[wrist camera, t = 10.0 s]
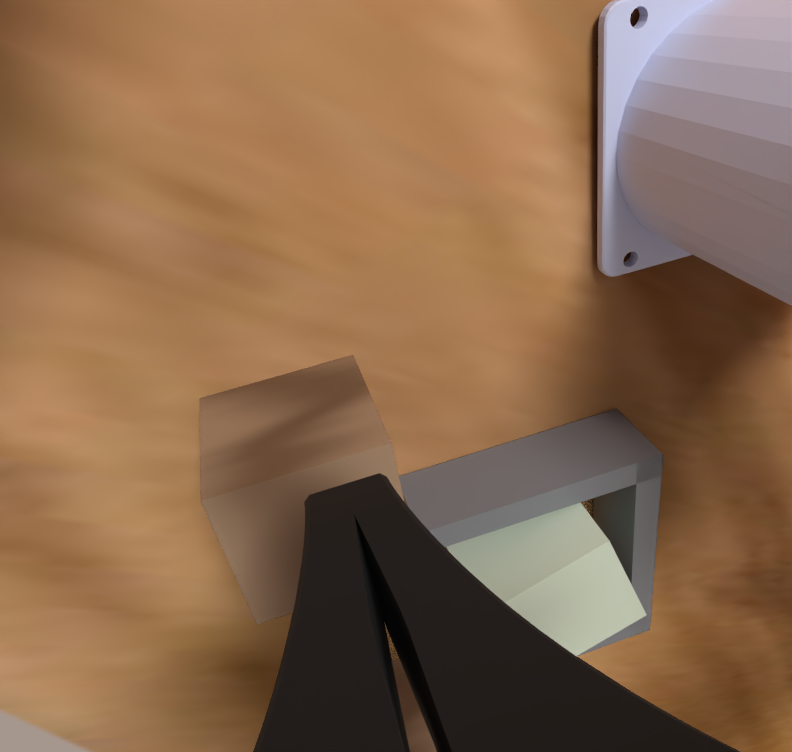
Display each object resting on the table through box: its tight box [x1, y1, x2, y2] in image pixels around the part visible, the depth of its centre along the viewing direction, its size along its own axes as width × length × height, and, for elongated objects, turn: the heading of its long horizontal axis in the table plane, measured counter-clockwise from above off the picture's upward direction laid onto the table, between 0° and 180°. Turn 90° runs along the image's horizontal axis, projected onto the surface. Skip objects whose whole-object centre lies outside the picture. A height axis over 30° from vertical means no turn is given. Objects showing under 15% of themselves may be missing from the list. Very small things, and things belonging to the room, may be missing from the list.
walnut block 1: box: [200, 355, 404, 625], centre depth 20 cm, size 5×5×5 cm
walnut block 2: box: [392, 659, 437, 752], centre depth 28 cm, size 5×5×5 cm
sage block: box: [447, 503, 646, 656], centre depth 25 cm, size 5×5×5 cm
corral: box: [399, 409, 663, 656], centre depth 26 cm, size 9×10×3 cm
